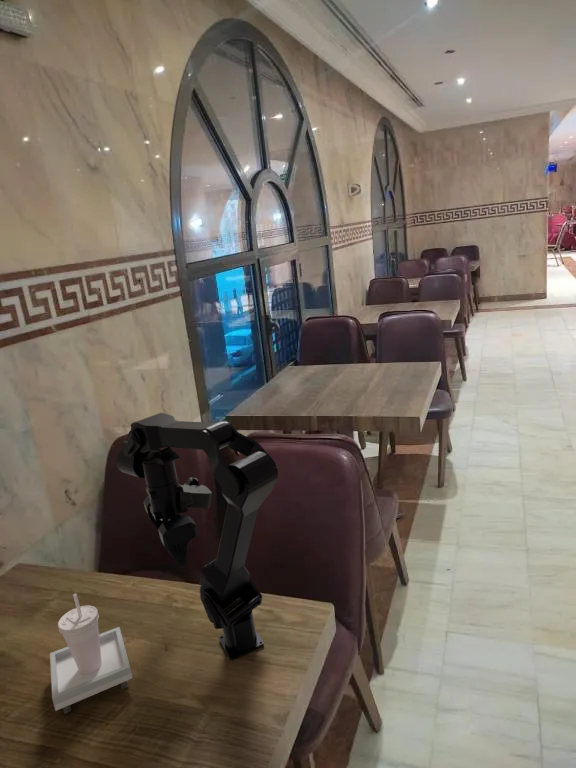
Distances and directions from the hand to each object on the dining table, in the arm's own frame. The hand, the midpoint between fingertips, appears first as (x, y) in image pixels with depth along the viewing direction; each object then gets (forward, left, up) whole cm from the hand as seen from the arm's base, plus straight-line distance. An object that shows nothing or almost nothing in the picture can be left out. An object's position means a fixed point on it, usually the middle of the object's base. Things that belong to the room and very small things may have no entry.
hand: (177, 555), depth 104 cm
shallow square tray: (-8, +19, -13) cm, 24 cm away
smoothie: (-8, +19, -10) cm, 23 cm away
